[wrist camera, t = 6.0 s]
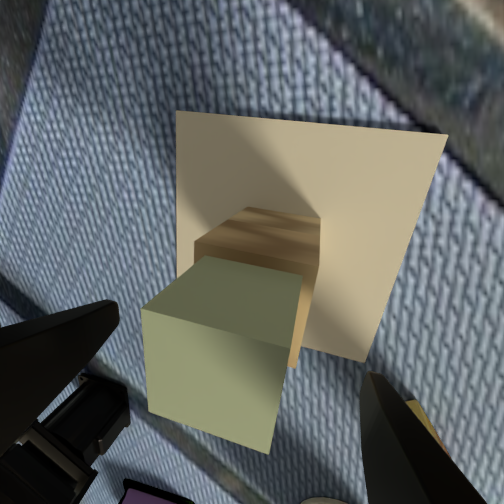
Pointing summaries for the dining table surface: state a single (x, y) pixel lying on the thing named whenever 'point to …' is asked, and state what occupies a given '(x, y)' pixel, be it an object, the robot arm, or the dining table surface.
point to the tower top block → (268, 259)
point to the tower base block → (279, 220)
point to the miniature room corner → (149, 495)
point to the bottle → (322, 501)
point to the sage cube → (221, 348)
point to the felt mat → (312, 204)
